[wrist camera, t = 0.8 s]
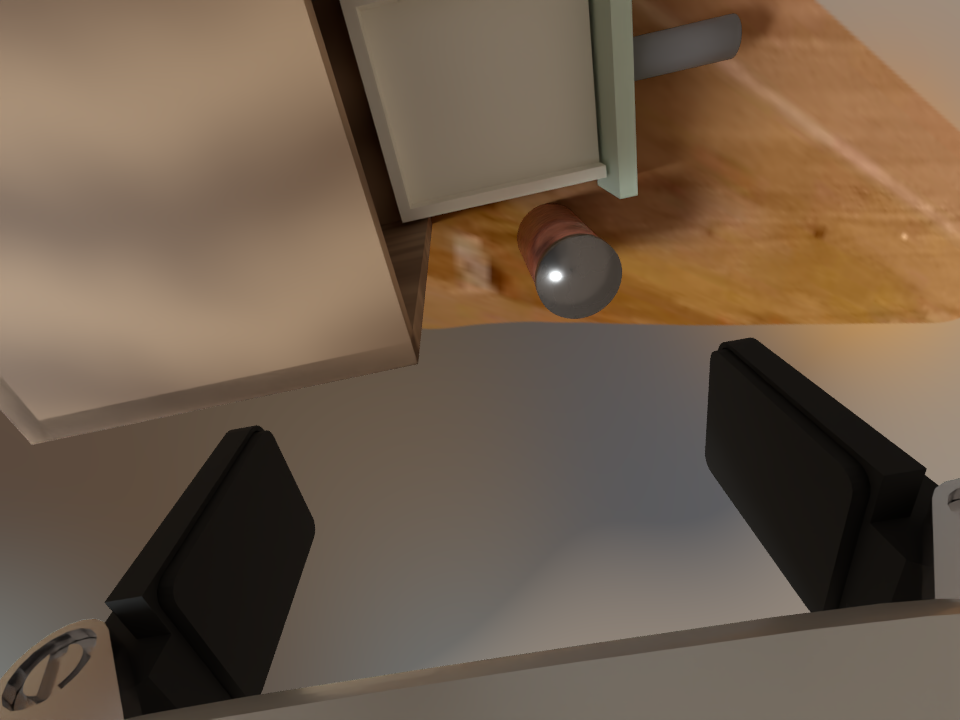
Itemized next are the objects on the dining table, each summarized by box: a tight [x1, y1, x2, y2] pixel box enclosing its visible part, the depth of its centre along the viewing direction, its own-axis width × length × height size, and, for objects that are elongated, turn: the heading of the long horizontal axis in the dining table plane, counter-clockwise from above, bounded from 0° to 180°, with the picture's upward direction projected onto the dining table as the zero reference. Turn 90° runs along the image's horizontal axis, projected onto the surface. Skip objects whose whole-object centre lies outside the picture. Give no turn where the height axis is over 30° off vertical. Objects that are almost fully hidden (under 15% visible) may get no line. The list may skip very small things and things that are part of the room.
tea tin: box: [517, 203, 622, 319], centre depth 34 cm, size 5×5×10 cm
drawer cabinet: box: [0, 0, 432, 445], centre depth 24 cm, size 16×16×22 cm
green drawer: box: [339, 0, 742, 223], centre depth 30 cm, size 16×23×5 cm
